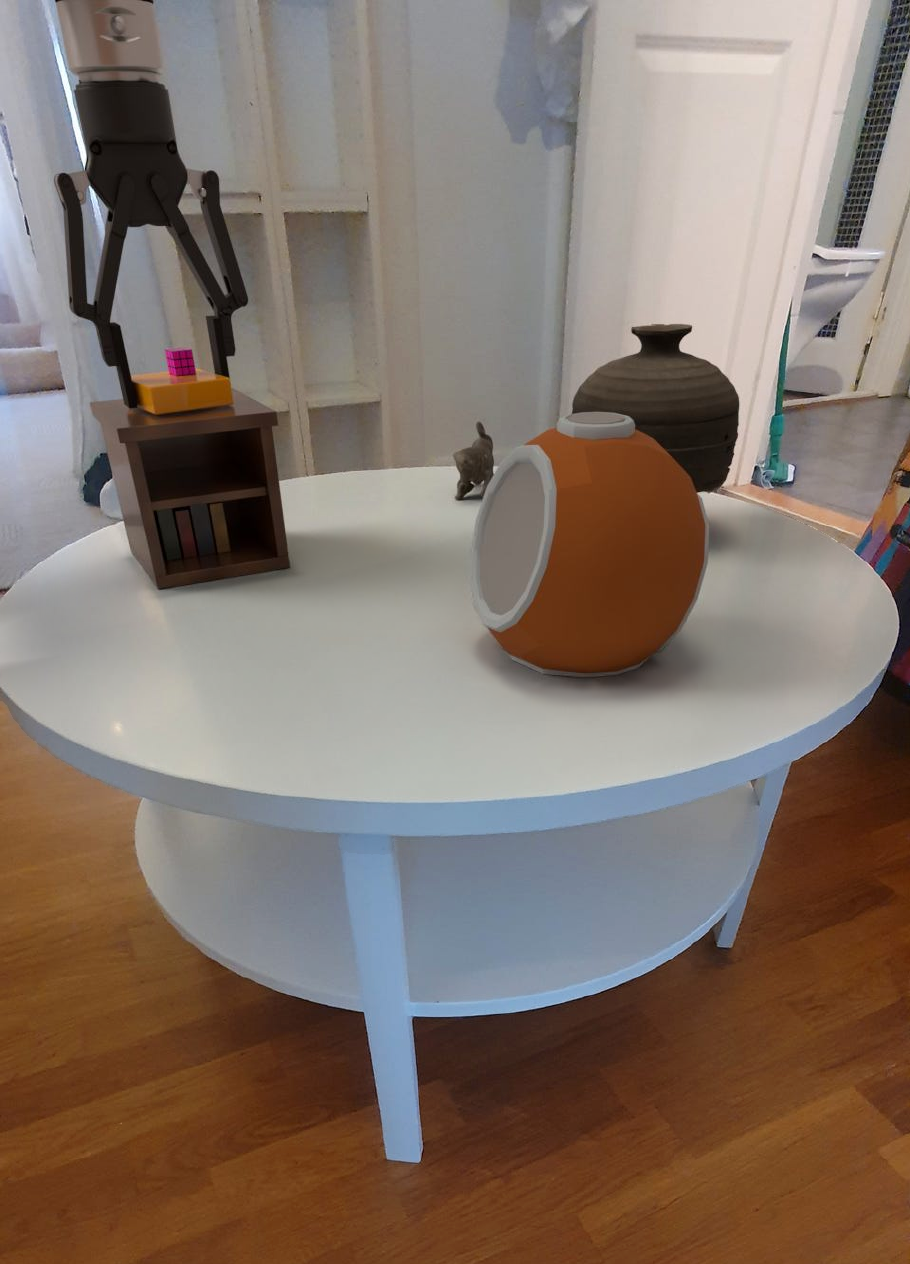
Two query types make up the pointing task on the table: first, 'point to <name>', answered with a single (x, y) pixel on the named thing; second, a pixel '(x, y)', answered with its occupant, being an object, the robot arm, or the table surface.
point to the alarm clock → (588, 548)
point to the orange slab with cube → (181, 386)
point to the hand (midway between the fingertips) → (178, 401)
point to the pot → (671, 402)
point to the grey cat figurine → (475, 464)
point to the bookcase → (197, 489)
